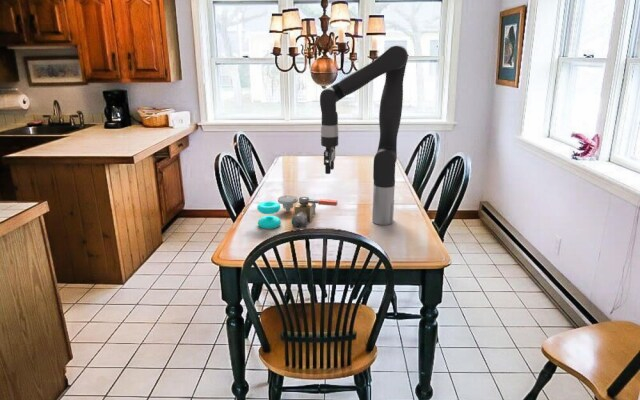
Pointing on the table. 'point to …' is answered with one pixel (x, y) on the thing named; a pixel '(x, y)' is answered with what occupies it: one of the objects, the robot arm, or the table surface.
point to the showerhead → (287, 201)
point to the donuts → (269, 208)
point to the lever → (317, 201)
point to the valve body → (303, 214)
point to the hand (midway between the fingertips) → (329, 171)
